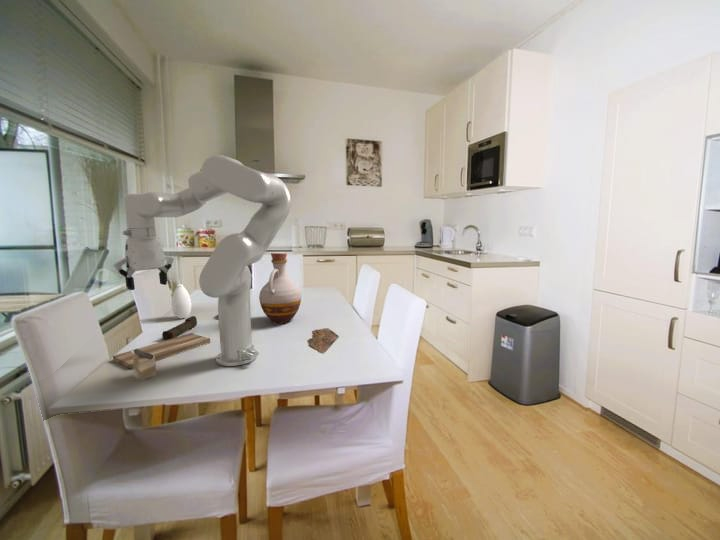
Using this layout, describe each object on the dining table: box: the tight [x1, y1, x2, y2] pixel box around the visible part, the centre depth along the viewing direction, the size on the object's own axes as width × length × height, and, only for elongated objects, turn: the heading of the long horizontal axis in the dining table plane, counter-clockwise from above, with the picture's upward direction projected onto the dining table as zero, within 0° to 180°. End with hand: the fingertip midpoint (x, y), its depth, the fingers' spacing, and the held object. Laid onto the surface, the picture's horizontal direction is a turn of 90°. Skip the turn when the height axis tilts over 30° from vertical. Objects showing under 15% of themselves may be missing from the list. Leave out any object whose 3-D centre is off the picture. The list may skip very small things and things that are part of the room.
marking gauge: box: [132, 348, 158, 381], centre depth 97 cm, size 8×4×7 cm, turn 58°
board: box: [112, 332, 211, 370], centre depth 116 cm, size 12×26×2 cm, turn 148°
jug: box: [258, 252, 302, 325], centre depth 146 cm, size 20×18×30 cm
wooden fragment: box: [307, 327, 340, 355], centre depth 126 cm, size 26×11×1 cm, turn 0°
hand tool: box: [161, 315, 198, 341], centre depth 135 cm, size 19×4×5 cm, turn 171°
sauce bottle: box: [171, 278, 192, 320], centre depth 152 cm, size 8×8×18 cm
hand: (148, 286), depth 111 cm, fingers open, 9 cm apart
